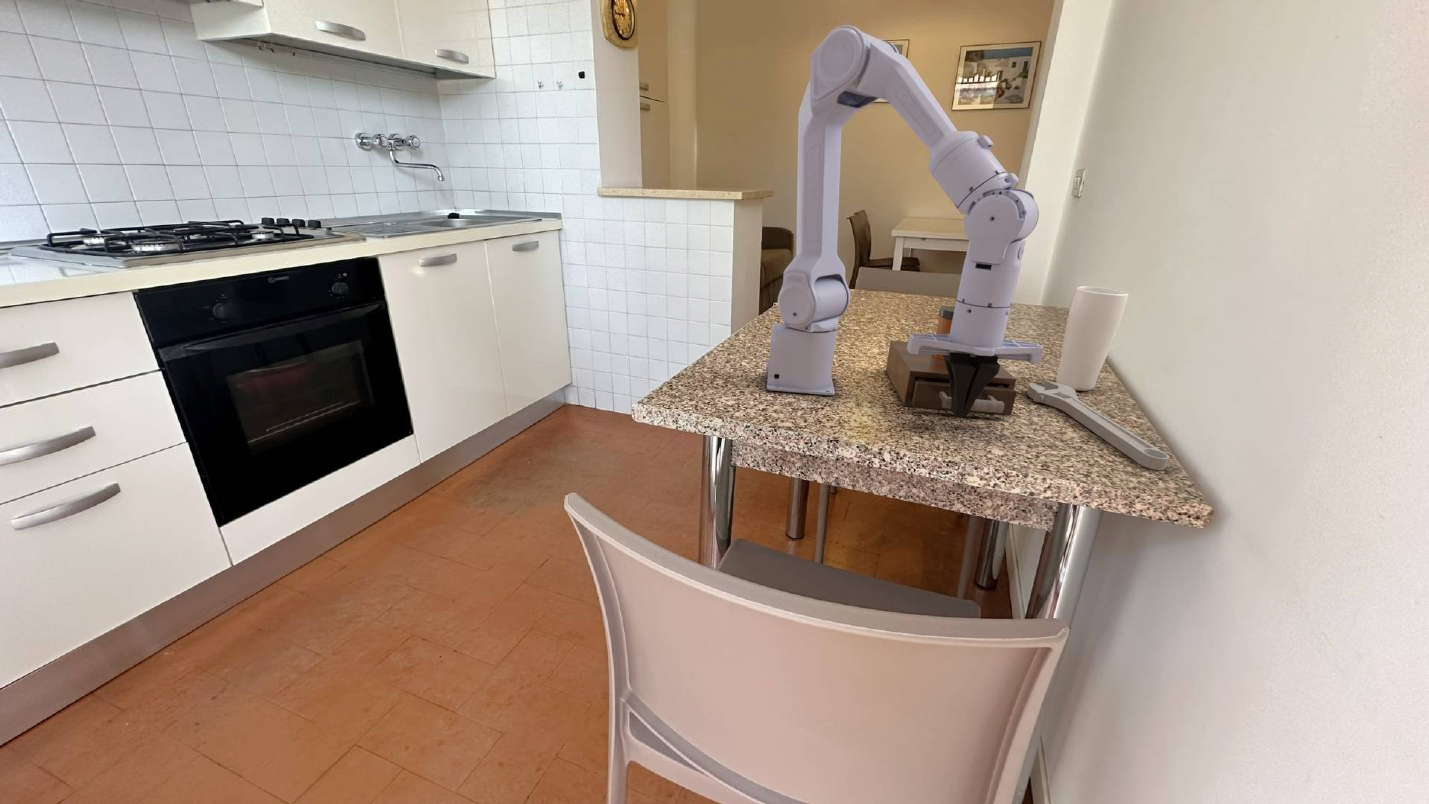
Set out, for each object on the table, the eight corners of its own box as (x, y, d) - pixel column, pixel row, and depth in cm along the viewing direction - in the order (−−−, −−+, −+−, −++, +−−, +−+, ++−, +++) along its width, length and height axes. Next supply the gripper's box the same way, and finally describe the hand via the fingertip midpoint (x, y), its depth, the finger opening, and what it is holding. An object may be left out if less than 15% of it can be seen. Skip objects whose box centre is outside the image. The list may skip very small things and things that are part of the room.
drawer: (1022, 427, 70) (1029, 402, 69) (919, 418, 71) (924, 393, 70) (976, 379, 87) (981, 358, 86) (893, 372, 88) (897, 352, 87)
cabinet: (1007, 415, 76) (1016, 379, 74) (903, 406, 78) (910, 370, 76) (972, 377, 91) (979, 346, 89) (885, 370, 92) (890, 340, 90)
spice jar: (934, 360, 81) (944, 311, 78) (927, 351, 85) (936, 304, 82) (967, 362, 80) (978, 313, 78) (958, 353, 85) (968, 307, 82)
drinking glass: (1052, 376, 93) (1077, 284, 88) (1100, 386, 90) (1130, 290, 84) (1046, 386, 88) (1073, 289, 83) (1098, 397, 85) (1129, 296, 79)
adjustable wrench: (1171, 472, 63) (1177, 457, 62) (1111, 468, 63) (1116, 453, 63) (1061, 392, 86) (1064, 381, 85) (1017, 389, 86) (1020, 378, 86)
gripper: (925, 305, 61) (903, 421, 66) (1067, 315, 60) (1034, 432, 65) (912, 293, 68) (893, 399, 73) (1039, 302, 66) (1012, 409, 71)
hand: (958, 414), depth 69 cm, fingers closed, pressing on drawer
